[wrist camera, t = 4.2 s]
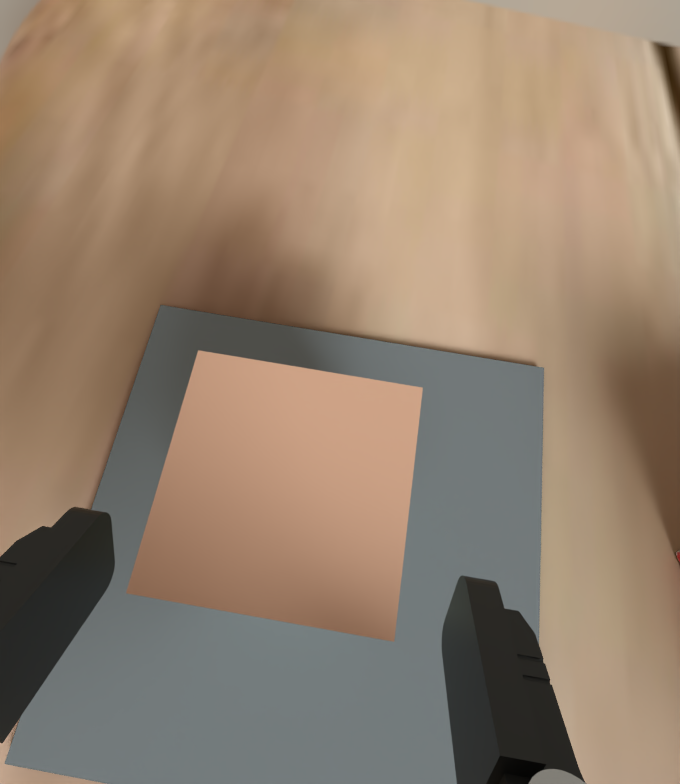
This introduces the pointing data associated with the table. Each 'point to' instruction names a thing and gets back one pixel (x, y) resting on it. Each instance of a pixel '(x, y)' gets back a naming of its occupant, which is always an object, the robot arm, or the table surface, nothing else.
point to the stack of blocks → (678, 555)
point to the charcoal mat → (282, 639)
